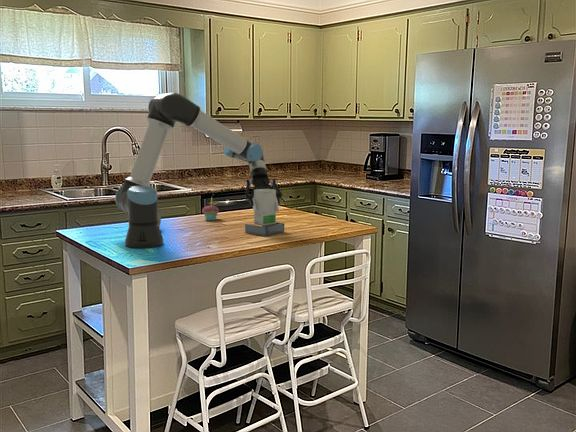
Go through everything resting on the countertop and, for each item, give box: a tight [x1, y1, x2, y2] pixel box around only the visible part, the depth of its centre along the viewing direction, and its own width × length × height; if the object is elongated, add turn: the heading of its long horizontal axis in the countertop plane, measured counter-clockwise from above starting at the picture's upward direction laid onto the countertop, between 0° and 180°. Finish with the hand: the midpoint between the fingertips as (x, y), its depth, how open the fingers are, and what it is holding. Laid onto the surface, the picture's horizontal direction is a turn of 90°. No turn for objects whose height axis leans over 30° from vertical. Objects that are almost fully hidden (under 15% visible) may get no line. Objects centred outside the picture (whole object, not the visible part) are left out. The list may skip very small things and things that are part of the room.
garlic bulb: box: [158, 212, 162, 229], centre depth 263 cm, size 10×8×10 cm
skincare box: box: [253, 188, 277, 226], centre depth 256 cm, size 8×7×16 cm
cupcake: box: [201, 197, 220, 221], centre depth 287 cm, size 9×8×12 cm
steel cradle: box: [244, 221, 285, 237], centre depth 258 cm, size 13×13×4 cm
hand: (266, 210), depth 254 cm, fingers closed on skincare box, 10 cm apart
